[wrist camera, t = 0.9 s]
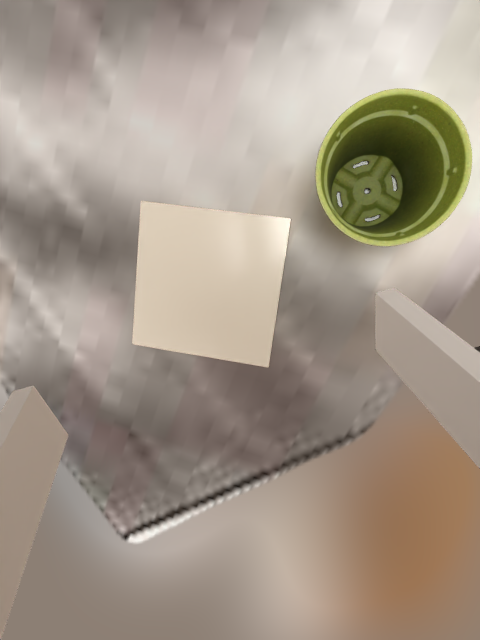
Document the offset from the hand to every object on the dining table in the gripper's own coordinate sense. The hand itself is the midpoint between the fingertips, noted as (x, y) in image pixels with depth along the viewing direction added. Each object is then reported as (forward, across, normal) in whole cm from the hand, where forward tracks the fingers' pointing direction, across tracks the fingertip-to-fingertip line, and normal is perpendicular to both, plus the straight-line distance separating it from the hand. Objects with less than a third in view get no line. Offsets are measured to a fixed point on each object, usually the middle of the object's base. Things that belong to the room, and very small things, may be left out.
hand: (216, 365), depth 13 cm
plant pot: (+19, +16, -1) cm, 25 cm away
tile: (+21, 0, -6) cm, 22 cm away
